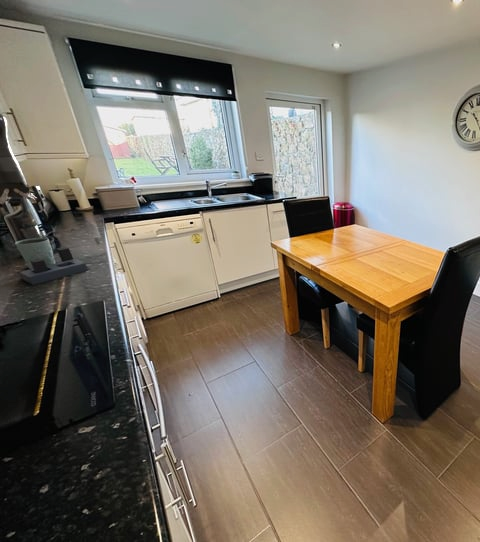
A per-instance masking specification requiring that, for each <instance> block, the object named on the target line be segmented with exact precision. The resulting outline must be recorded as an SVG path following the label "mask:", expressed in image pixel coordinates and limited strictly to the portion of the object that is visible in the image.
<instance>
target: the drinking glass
mask: <svg viewBox="0 0 480 542" xmlns="http://www.w3.org/2000/svg"><path fill="white" fill-rule="evenodd" d="M50 242H51V241H50V238H47V237H43V238H33V239H26V240H21V241H18V242H16V241H15V242H14V245H15V246H16V249H17V248H18V249H19V250H18V249H17V250H18V252H19V253H20V255H21V256H22V259H23V260H24V261H25V264H26V265H27V267H28V269H29V270H30V269H34V268H33V266H32V264H31V262H30V260H34V259H39V258H40V259H43V260H44V261H45V263H46V266H47V265H51V264H55V263H56V260H55V256H54V253H53V249H52V246H51V244H50Z"/></svg>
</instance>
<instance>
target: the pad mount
mask: <svg viewBox="0 0 480 542" xmlns="http://www.w3.org/2000/svg"><path fill="white" fill-rule="evenodd" d="M47 268H48V271H44V272H40V273H36V272H35V270H34V269H30V268H29V269H27V270H21V271H19V274H20V276H21V277H22V278H21V279H23V280H24V281H25V282H27V283H28V284H31V285H32V286H34V285H39V284H42V283H47V282H49V281H54V280H57V279H61V278H64V277H68V276H71V275H76V274H78V273H79V274H80V273H83V272H86V271H88V270H89V268H88V266H87V263H86V262H84V261H82V260H78V259H76V258H73V259H72V260H68V261H64V262H62V261H60V262H55V264H51V265H47Z"/></svg>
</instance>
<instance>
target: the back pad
mask: <svg viewBox="0 0 480 542" xmlns="http://www.w3.org/2000/svg"><path fill="white" fill-rule="evenodd" d="M56 251H57V254H58V257H59V258H60V261H61V262H64V261H68V260H72V259H74V257H73V254H72V253H71V250H70V248H69V247H66V246H63V247H58V248H56Z"/></svg>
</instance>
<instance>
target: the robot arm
mask: <svg viewBox="0 0 480 542" xmlns="http://www.w3.org/2000/svg"><path fill="white" fill-rule="evenodd" d="M30 190H31V191H32V192H33V193H34V194H33V193H31V192H30ZM28 200H29V201H30V202H31V203H32V204H33V207H34V209H35V211H36V213H43V210H44V208H43V205H42V203H41V202H43V201H45V200H46V197H45V195H44V193H43V191H42V189H41V187H40V185H38V184H34V185H28V183H27V180H26V177H25V175H24V173H23V171H22V168H21V166H20V164H19V162H18V161H17V159H16V157H15V155H14V152H13V150H12V148H11V145H10V142H9V137H8V122H7V119H6V118H5V116H4V115H3V114H2V113H0V209H2V208H3V211H4V212H5V213H7V214H6V215H4V217H3V219H4V221H5V223H6V225H7V228H8V229H9V231H10V234H11V236H12V237H13V239H14V241H15V243H16V242H18V241H21V240H26V239H33V238H48V239H51V241H49V242H50V245H51V244H52V243H54V241H55V239H54V237H53V236H49V235H51V234H58V231H53V230H51V231H49V232H47V233H46V234H45V235H44V237H43V235H42V233H41V230H40V228H39V226H38V224H37V221H36V219H35V216H34V214H33V213H32V210H31V209H30V208H31V207H30V205H29V202H28ZM15 207H16V208H17V207H19V208H18V209H16V210H15V211H14V209H13V208H15ZM16 249H17V251H19V249H18V248H17V247H16Z"/></svg>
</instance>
